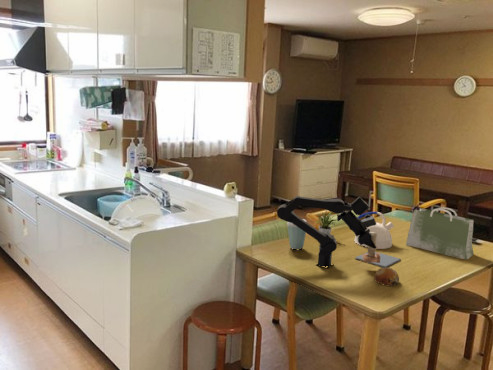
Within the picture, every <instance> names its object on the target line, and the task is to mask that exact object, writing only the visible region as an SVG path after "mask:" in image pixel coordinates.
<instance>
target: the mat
mask: <svg viewBox="0 0 493 370" xmlns="http://www.w3.org/2000/svg"><path fill="white" fill-rule="evenodd" d="M376 252H377V253H379V254H380V263H375V262H368V263H367V264H370V263H372V264H371V265H373V264H374V265H373V266H376V265H377V267H380V268H385V267H388V268H389V267H391V266H392V265H394V264H396V263H398V262H400V261H401V258H399V257H395V256H392V255H388V254H385V253H381V252H378V251H375V255H376ZM363 254H368V251H367V252H365V253H363ZM363 254H360V255H357V256H355V257H354V259H355V258H356V259H355V260H357V259H359V260H358V261H360V260H362V261H361V262H363Z"/></svg>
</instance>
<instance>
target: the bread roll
mask: <svg viewBox="0 0 493 370" xmlns="http://www.w3.org/2000/svg"><path fill="white" fill-rule="evenodd" d="M374 273H375V274H374V281H375V280H376V281H375V282H377V283H378V282H379V283H378V284H380V283H381V284H380V285H382V284H384V285H383V286H386V285H389V286H388V287H393V286H392V285H395V286H397V285H398V284H399V282H400V276H399V274H398V272H397V270H396V269H393V268H391V267H389V266H388V267H385V268H383V267H380V268H379V269H377V270H376V272H374Z"/></svg>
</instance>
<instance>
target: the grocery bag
mask: <svg viewBox="0 0 493 370" xmlns="http://www.w3.org/2000/svg"><path fill="white" fill-rule="evenodd" d="M441 211H442V212H441ZM443 212H445V213H443ZM451 212H453V214H452V213H451ZM473 233H474V219H470V218H465V217H462V216H458V214H457V212H456V211H455V210H454V209H453V208H449V207H444V206H441V207H438V208H433V209H432V210H431V209H424V208H421V207H420V208H419V209H414V210H413V212H412V216H411V220H410V225H409V228H408V233H407V238H406V243H405V245H406V246H408V247H414V248H416V249H417V248H418V249H422V250H424V251H425V250H427V251H430V252H433V253H437V254H441V255H445V256H449V257H452V258H457V259H463V260H469V259H470V258H471V257H472V256H473V255H474V249H473V248H474V247H473Z"/></svg>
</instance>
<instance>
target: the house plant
mask: <svg viewBox="0 0 493 370" xmlns="http://www.w3.org/2000/svg"><path fill="white" fill-rule="evenodd" d="M327 211H328V210H326V209H325V213H324V212H323V211H322V212H320V211H319V212H317V213H314V214H316V215H317V216H318V217H319V218H318V220H319V221H318V220H316V221H315V223H319V224H320V225H319V226H318V230H319V231H320V232H322V233H325V234H326V232H329V233H330V234H332V233H331V232H332V227H331V225H333V226H336V225H338V223H337V222H335V221H337V219H333V218H334V217H336V214H334V215H332V213H333V212H331V211H329V213H328V214H327ZM331 215H332V216H331Z"/></svg>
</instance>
